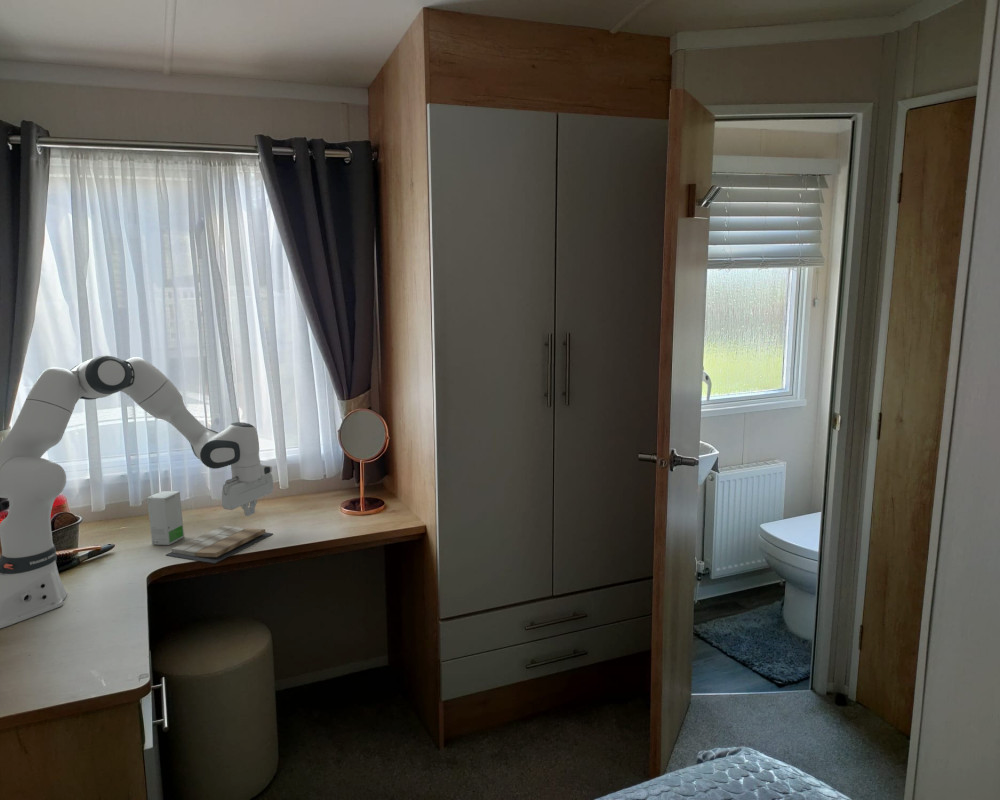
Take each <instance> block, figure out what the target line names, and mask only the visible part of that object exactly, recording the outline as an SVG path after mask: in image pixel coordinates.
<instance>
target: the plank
mask: <svg viewBox="0 0 1000 800" xmlns="http://www.w3.org/2000/svg"><path fill="white" fill-rule="evenodd" d="M264 533H267V531H266V529H265V528H244V530H242V531H240V532H238V533H236V534H233V535H231V536H229V537H227V538H225V539H223V540H221V541H219V542H216V543H214V544H212V545H210V546H208V547H206V548H204V549H202V550H200V551H197V552H195V554H196V556H200V557H218V556H220V555H222V554H224V553H226V552H228V551H230V550H232V549H234V548H236V547H238V546H240V545H242V544H244V543H246V542H248V541H250V540H252V539H254V538H256V537H258V536H260V535H262V534H264Z"/></svg>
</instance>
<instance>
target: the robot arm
mask: <svg viewBox="0 0 1000 800" xmlns="http://www.w3.org/2000/svg"><path fill="white" fill-rule="evenodd" d="M119 392H122V393H124V394H126V395H127V396H129V397H130V398H131V400H133V402H135V403H136V405H138V406H139V407H140V408H141V409H142V410H144V411H145V413H147V414H149V415H151V416H152V417H153V418H156V419H157V420H163V421H165V422H167V423H169V424H170V425H172V426H173V427H174V428H175V429H176V430H177V431H178V432H179V433H180V434H181V435H182V436H184V438H185V439H186V440H187V441H188V442H189V444H190V447H191V450H192V452H193V455H194V456H195V457H196V458H197V459H199V461H200V462H201V463H202V464H203V465H204V466H206V467H207V468H209V469H212V470H213V469H214V470H216V469H221V468H222V469H223V468H225V467H228V466H230V469H231V472H230V473H231V478H230V479H227V480H226V481H225V482H224V484H222V491H221V507H222V508H223V509H224V510H229V511H233V510H235V509H237V508H239V507H240V508H241V509H242V510H243V512H244V513H243V514H244V516H245V517H249V516H251V515H253V514H255V513H256V509H255V508H256V506H257V503H258V499H261V498H263V497H265V496H267V495H271V494H272V493H273V491H274V479H273V474H272V472H273V467H272V466H270V465H265V464H262V463H261V460H260V459H261V458H260V455H259V453H260V441H259V435H258V431H257V429H256V427H255V426H254V425H252V424H250V423H247V422H240V421H239V422H231V423H230V424H229V425H228V426H227V427H226V428H225V429H224V430H222V431H220V432H217V431H215V430H213V429H209V428H207V427H206V426H204V425H203V424H202V423H201V422H200V421H199V420H198V419H197V418H196V417H195V416H194V415H193V414H192V413H191V412H190V411H189V410H188V408H187V406H185V403H184V399H183V396H182V394H181V392H180V391H179V390H178V388H177V387H176V386H175V384H174V383H173V382H172V380H171V379H169V378H168V377H167V376H166V375H165V374H164V373H163V372H162V371H160V369H158V368H157V367H156V366H154V364H152V363H151V362H149V361H147V360H146V359H144V358H143V357H139V356H135V357H131V358H130V357H129V358H128V359H121V358H119V357H116V356H113V355H107V354H106V355H105V354H104V355H98V356H95V357H94V358H93V357H92V358H89V359H86V360H85V361H83V362H81V363H80V364H77V365H75V366H74V367H72V368H71V369H70V370H69V369H67V368H63V367H48V368H46V369H45V370H43V371H42V372H41V373H40V375H39V377H38V378H37V379H36V381H35V382H34V384H33V385H32V387H31V389H30V390H29V392H28V394H27V397H26V399H25V401H24V403H23V405H22V408H21V409H20V412H19V414H18V416H17V418H16V420H15V422H14V424H13V426H12V428H10V430H9V432H8V433H7V435H6V436H5V437H4V438H3V439H2V441H1V442H0V499H8V503H9V507H8V512H7V516H6V517H5V518H3V520H1V522H0V545H1V555H0V629H2V628H6V627H9V626H12V625H14V624H17V623H19V622H22V621H25V620H27V619H31V618H33V617H35V616H38V615H41V614H44V613H47V612H49V611H52V610H55V609H57V608H60V607H62V606H63V605H64V602H63V601H64V600H65V599H66V598H67V594H68V593H67V591H66V589H65V588H64V585H63V583H62V580H61V577H60V573H59V570H58V566H57V559H58V557H57V549H56V545H55V544H54V542H53V532H52V524H51V523H52V522H51V519H52V518H51V515H52V510H53V505H54V502H55V500H56V498H57V497H59V496H60V495H61V494H62V493H63V491H64V489H65V487H66V486H67V485H66V484H67V474H66V471H65V469H64V468H63V467H62V465H60V464H58V463H56V462H54V461H52V460H48V459H46V458H42V457H43V456H44V454H46V453H47V451H49V450H50V449H51V448H53V447H55V446H56V445H58V444H59V442H61V440H62V439H63V436H64V435H65V432H66V430H67V427H68V424H69V422H70V419H71V417H72V415H73V412H74V410H75V408H76V407H75V406H76V404H77V403H78V402H79V400H90V401H92V400H96V399H101V398H107V397H109V396H111V395H113V394H116V393H119Z"/></svg>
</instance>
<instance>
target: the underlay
mask: <svg viewBox="0 0 1000 800" xmlns="http://www.w3.org/2000/svg"><path fill="white" fill-rule="evenodd" d="M272 535H274V534H273V533H271V532H266V533H264V534H262V535H260V536H258V537H256V538H254V539H252V540H250V541H248V542H246V543H244V544H242V545H240V546H238V547H236V548H234V549H232V550H230V551H228V552H226V553H224V554H222V555H220V556H218V557H200V556H190V555H184V554H178V553H172V551H169V552H168V553H166V554H165V556H166V557H167V556H168V557H173V558H177V557H178V558H179V559H184V560H189V561H197V562H202V563H208V564H212V565H213V564H214V565H215V564H217V563H219V562H221V561H223V560H225V559H228V557H231V556H232V555H235V554H237V553H239V552H241V551H243V550H244V549H246V548H248V547H251V546H253V545H254V544H257V543H258V542H260V541H262V540H264V539H267V538H269V537H270V536H272Z"/></svg>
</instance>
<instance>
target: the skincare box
mask: <svg viewBox="0 0 1000 800" xmlns="http://www.w3.org/2000/svg"><path fill="white" fill-rule="evenodd" d="M146 499H147V500H146V501H147V506H148V507H147V509H148V519H149V526H150V538H151V545H157V546H170V545H172V544H174V543H176V542H178V541H179V540H182V539H183V538H185V532H184V523H183V513H182V503H181V491H179V490H177V491H176V490H175V491H170V490H162V491H160V492H157V493H154V494H152V495H149V496H147V498H146Z"/></svg>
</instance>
